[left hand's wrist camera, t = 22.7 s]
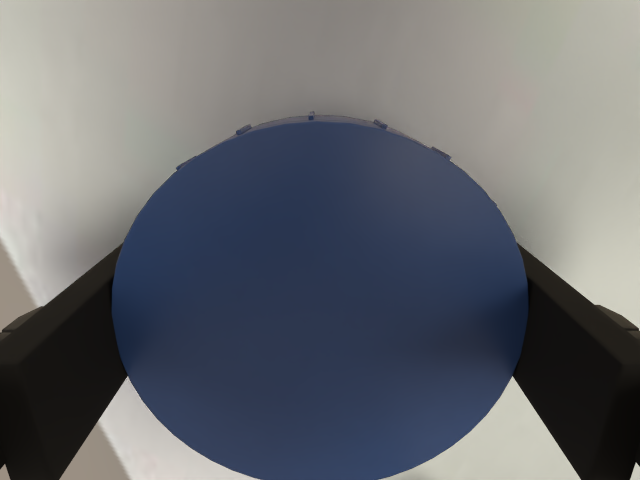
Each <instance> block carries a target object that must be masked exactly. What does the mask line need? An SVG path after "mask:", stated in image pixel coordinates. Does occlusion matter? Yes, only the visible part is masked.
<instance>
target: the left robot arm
mask: <svg viewBox="0 0 640 480" xmlns="http://www.w3.org/2000/svg"><path fill="white" fill-rule="evenodd" d="M516 243H517V242H516ZM517 245H518V248H519V251H520V253H521V256H522V259H523V263H524V268H525V273H526V278H527V283H528V300H529V313H528V319H527V325H526V331H525V336H524V341H523V346H522V351H521V356H520V358H519V361H518V363H517V365H516V368H515V370H514V373H513V375H512V376H513V377H514V379H515V380H516V382H517V383H518V385H519V386H520V388H521V389H522V391H523V392H524V394H525V395H526V397H527V398H528V400H529V401H530V403H531V404H532V406H533V407H534V409H535V410H536V412H537V414H538V415H539V417H540V418H541V420H542V421H543V423H544V424H545V426H546V427H547V429H548V430H549V432H550V433H551V435H552V436H553V438H554V439H555V441H556V442H557V444H558V445H559V447H560V448H561V450H562V451H563V453H564V454H565V456H566V457H567V459H568V460H569V462H570V463H571V465H572V466H573V468H574V469H575V471H576V472H577V474H578V476H579V477H580V479H581V480H630V478H631V475H632V472H633V469H634V466H635V463H637V464H638V465H639V466H640V331H639V328H638V327H636V326H635V325H634V324H632V323H631V322H630V321H628V320H627V319H626V318H624V317H623V316H622V315H620V314H617V313H615V312H613V311H611V310H609V309H607V308H605V307H603V306H601V305H594V304H593V303H591V302H590V301H589V300H588V299H586V298H585V297H584V296H583V295H581V294H580V293H579V292H578V291H576V290H575V289H574V288H573V287H571V286H570V285H569V284H568V283H566V282H565V281H564V280H563V279H561V278H560V277H559V276H558V275H557V274H555V273H554V272H553V271H552V270H550V269H549V268H548V267H547V266H545V265H544V264H543V263H542V262H540V261H539V260H538V259H537V258H535V257H534V256H533V255H532V254H530V253H529V252H528V251H527V250H525V249H524V248H523V247H522V246H520V245H519V244H518V243H517ZM122 246H123V243H122V244H121V245H120V246H119V247H117V248H116V249H115V250H114V251H112V252H111V253H110V254H109V255H107V256H106V257H105V258H104V259H102V260H101V261H100V262H99V263H98V264H96V265H95V266H94V267H93V268H91V269H90V270H89V271H88V272H86V273H85V274H84V275H83V276H81V277H80V278H79V279H78V280H76V281H75V282H74V283H73V284H71V285H70V286H69V287H68V288H66V289H65V290H64V291H63V292H61V293H60V294H59V295H58V296H56V297H55V298H54V299H53V300H51V301H50V302H49V303H48V304H46V305H45V306H41V307H39V308H37V309H35V310H33V311H31V312H28V313H26V314H24V315H22V316H20V317H18V318H17V319H16V320H14V321H13V322H12V323H11V324H9V325H8V326H7V327H5V328H4V329H3V330H2V333H0V469H1V468H2V467H3V465H4V464H5V465H6V467H7V471H8V474H9V476H10V479H11V480H59V479H60V477H61V476H62V474H63V473H64V471H65V470H66V468H67V467H68V465H69V464H70V462H71V461H72V459H73V458H74V456H75V455H76V453H77V452H78V450H79V449H80V447H81V446H82V444H83V443H84V441H85V440H86V438H87V437H88V435H89V434H90V432H91V431H92V429H93V428H94V426H95V425H96V423H97V421H98V420H99V418H100V417H101V415H102V414H103V412H104V411H105V409H106V408H107V406H108V405H109V403H110V402H111V400H112V399H113V397H114V396H115V394H116V393H117V391H118V390H119V388H120V387H121V385H122V384H123V382H124V381H125V379H126V378H127V376H128V374H127V372H126V370H125V368H124V365H123V363H122V361H121V358H120V354H119V350H118V345H117V341H116V335H115V330H114V324H113V319H112V286H113V280H114V274H115V269H116V263H117V260H118V257H119V255H120V252H121V249H122Z"/></svg>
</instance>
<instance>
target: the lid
mask: <svg viewBox="0 0 640 480" xmlns="http://www.w3.org/2000/svg"><path fill="white" fill-rule="evenodd" d="M236 133H237V134H236V135H234V136H232V137H230V138H228V139H226V140H224V141H223V142H221V143H219V144H217V145H215V146H214V147H212V148H210V149H208V150H207V151H205V152H203V153H201V154H200V155H198V156H197V157H196V156H195V157H193V158H191V159H189V160H188V161H186V162H184V163H182V164H181V165H179V166H178V167H177V168H176V169H177V170H178V171H176V172H175V173H174V174H173V175H172V176H171V177H170V178H169V179H168V180H167V181H166V182H165V183H164V184H163V185H162V186H161V187H160V188H159V189H158V190H157V191H156V192H155V193H154V194H153V195H152V196H151V198H150V199H149V200H148V202H147V203H146V204H145V206H144V207H143V208H142V210H141V211H140V213H139V214H138V215H137V217H136V219H135V221H134V223H133V224H132V226H131V228H130V230H129V232H128V234H127V236H126V238H125V240H124V243H123V246H122V249H121V252H120V255H119V257H118V260H117V263H116V269H115V274H114V280H113V286H112V319H113V324H114V330H115V335H116V341H117V345H118V350H119V354H120V358H121V361H122V363H123V365H124V368H125V370H126V372H127V374H128V377H129V379H130V381H131V383H132V384H133V386H134V388H135V389H136V391H137V393H138V394H139V396H140V397H141V399H142V401H143V402H144V403H145V404H146V406H147V407H148V408H149V409H150V411H151V412H152V413H153V414H154V416H155V417H156V418H157V419H158V420H159V421H160V422H161V423H162V424H163V425H164V426H165V427H166V428H167V429H168V430H169V431H170V432H171V433H172V434H173V435H175V436H176V437H177V438H179V439H180V440H181V441H182V442H184V443H185V444H186V445H188V446H189V447H190V448H192V449H193V450H195V451H197V452H198V453H200V454H201V455H203V456H205V457H206V458H208V459H210V460H211V461H214V462H216V463H218V464H220V465H222V466H224V467H226V468H229V469H231V470H233V471H236V472H239V473H242V474H245V475H247V476H250V477H253V478H257V479H261V480H379V479H383V478H386V477H390V476H393V475H396V474H398V473H401V472H404V471H407V470H409V469H412V468H414V467H416V466H418V465H420V464H422V463H424V462H426V461H428V460H430V459H432V458H434V457H436V456H437V455H439V454H440V453H442V452H443V451H445V450H447V449H448V448H450V447H451V446H453V445H454V444H455V443H456V442H458V441H459V440H460V439H461V438H463V437H464V436H465V435H466V434H468V433H469V432H470V431H471V430H472V429H473V428H474V427H475V426H476V425H477V424H478V423H479V422H480V421H481V420H482V419H483V418H484V417H485V416H486V415H487V413H488V412H489V411H490V410H491V408H492V407H493V406H494V404H495V403H496V402H497V400H498V399H499V398H500V396H501V395H502V393H503V391H504V389H505V388H506V386H507V384H508V383H509V381H510V379H511V377H512V375H513V373H514V370H515V368H516V365H517V363H518V361H519V358H520V356H521V351H522V346H523V341H524V336H525V331H526V325H527V319H528V313H529V300H528V283H527V278H526V273H525V268H524V263H523V259H522V256H521V253H520V251H519V248H518V245H517V243H516V240H515V237H514V235H513V233H512V231H511V229H510V228H509V226H508V224H507V222H506V220H505V219H504V217H503V215H502V213H501V212H500V210H499V209H498V208H497V205H496V203H495V202H493V201H492V200H491V199H490V197H489V196H488V195H487V194H486V192H485V191H484V190H483V189H482V188H481V187H480V186H479V185H478V184H477V183H476V182H475V181H474V180H473V179H472V178H470V177H469V176H468V175H467V174H466V173H465V172H464V171H463V170H462V169H460V168H459V167H458V166H456V165H455V164H453V163H452V162H450V161H449V160H450V159H451V157H450V156H449V155H447V154H445V153H443V152H441V151H440V150H438V149H436V148H434V147H432V148H429V147H427V146H425V145H424V144H422V143H420V142H418V141H416V140H414V139H412V138H410V137H408V136H406V135H404V134H402V133H400V132H398V131H396V130H394V129H391V128H388V127H387V125H386V124H384V123H382V122H381V121H379V120H376V119H375V121H374V123H373V122H370V121H365V120H360V119H355V118H350V117H344V116H326V115H314V112H310V113H309V116H299V117H289V118H285V119H280V120H276V121H271V122H267V123H263V124H260V125H258V126H255V127H252V128H251V125H250V124H249V125H247V126H245V127H243V128H241V129H239V130H238V131H236Z"/></svg>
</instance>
